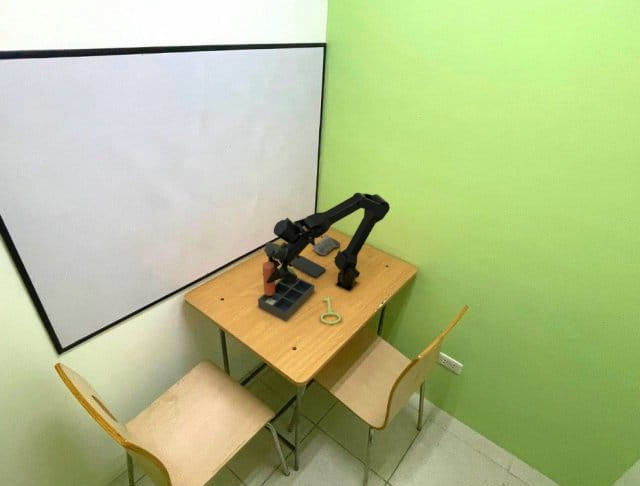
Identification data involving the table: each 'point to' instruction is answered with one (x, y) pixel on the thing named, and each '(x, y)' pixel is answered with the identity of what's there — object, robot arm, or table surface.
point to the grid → (286, 298)
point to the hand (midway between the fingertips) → (265, 279)
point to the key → (329, 313)
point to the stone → (326, 245)
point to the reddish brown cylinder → (267, 272)
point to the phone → (308, 267)
